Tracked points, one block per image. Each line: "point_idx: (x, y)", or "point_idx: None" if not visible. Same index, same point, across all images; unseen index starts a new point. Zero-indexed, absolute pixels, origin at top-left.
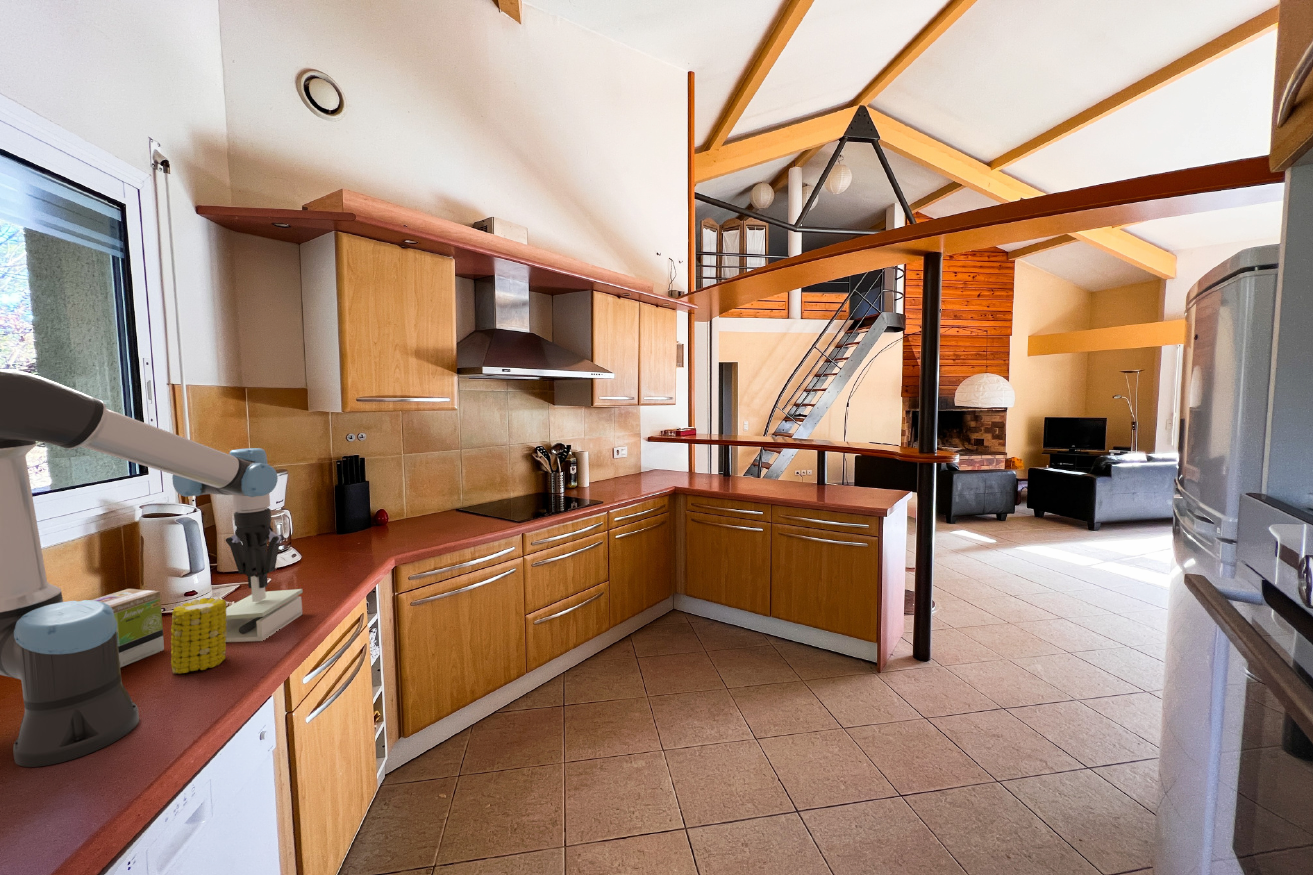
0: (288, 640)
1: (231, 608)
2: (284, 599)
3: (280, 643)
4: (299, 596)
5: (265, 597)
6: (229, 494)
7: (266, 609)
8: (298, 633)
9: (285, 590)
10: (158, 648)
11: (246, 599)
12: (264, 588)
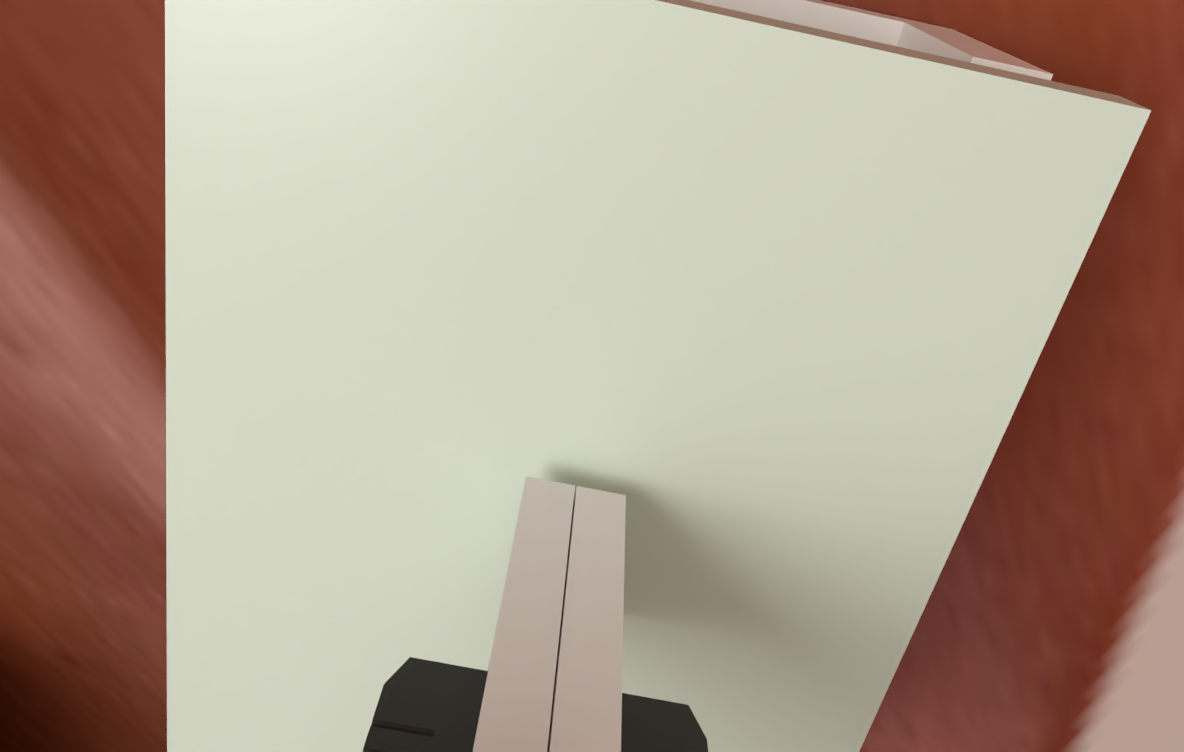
0: (955, 700)
1: (263, 614)
2: (932, 579)
3: (901, 733)
4: (1023, 69)
5: (625, 508)
6: None
7: None
8: (1014, 589)
9: (807, 62)
10: None
11: (253, 303)
12: (620, 622)
